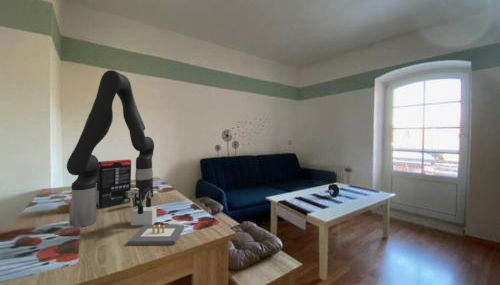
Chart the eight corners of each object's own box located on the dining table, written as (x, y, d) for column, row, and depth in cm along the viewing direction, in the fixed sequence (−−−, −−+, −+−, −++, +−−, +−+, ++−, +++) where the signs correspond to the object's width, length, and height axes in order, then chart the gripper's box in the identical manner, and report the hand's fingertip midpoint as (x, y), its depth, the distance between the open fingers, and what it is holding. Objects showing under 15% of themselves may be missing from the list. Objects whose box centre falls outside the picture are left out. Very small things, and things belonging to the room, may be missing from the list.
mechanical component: (144, 204, 125) (144, 188, 125) (126, 209, 116) (126, 192, 116) (141, 203, 127) (141, 188, 126) (124, 208, 118) (124, 191, 118)
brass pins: (152, 233, 86) (152, 226, 86) (153, 232, 87) (153, 225, 87) (164, 233, 87) (164, 226, 87) (164, 231, 88) (164, 225, 88)
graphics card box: (126, 199, 134) (126, 158, 133) (131, 202, 130) (131, 159, 129) (95, 207, 120) (95, 161, 119) (100, 209, 116) (99, 162, 115)
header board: (128, 244, 80) (128, 240, 80) (144, 228, 94) (144, 225, 94) (174, 244, 81) (174, 240, 81) (184, 228, 95) (184, 225, 94)
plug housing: (130, 225, 97) (130, 210, 96) (136, 221, 102) (136, 207, 101) (152, 225, 97) (152, 210, 97) (156, 220, 102) (156, 207, 102)
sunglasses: (54, 215, 107) (54, 205, 107) (61, 210, 120) (61, 201, 120) (88, 210, 114) (88, 201, 115) (91, 206, 127) (92, 198, 128)
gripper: (143, 174, 106) (143, 205, 106) (128, 180, 91) (128, 216, 92) (158, 174, 106) (158, 205, 106) (145, 180, 92) (145, 215, 92)
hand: (144, 210), depth 99 cm, fingers open, 8 cm apart
